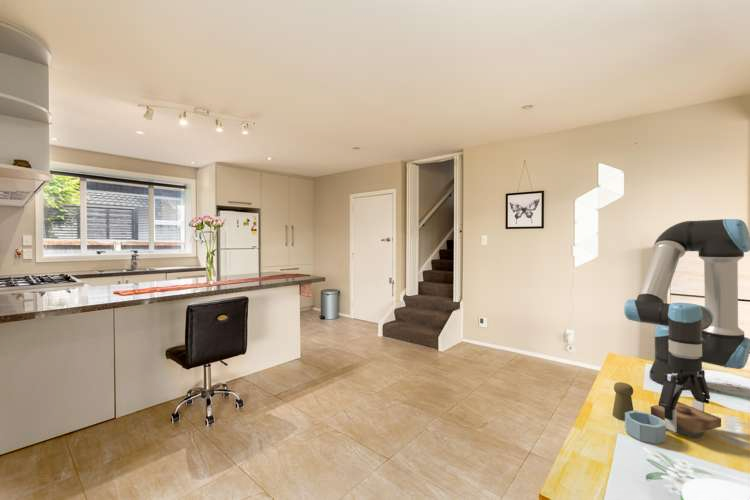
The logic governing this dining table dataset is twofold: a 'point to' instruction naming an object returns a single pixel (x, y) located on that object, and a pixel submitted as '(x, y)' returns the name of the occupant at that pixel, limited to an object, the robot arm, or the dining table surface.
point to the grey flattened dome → (688, 433)
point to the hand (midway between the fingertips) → (684, 426)
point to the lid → (690, 418)
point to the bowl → (645, 427)
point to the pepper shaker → (622, 400)
